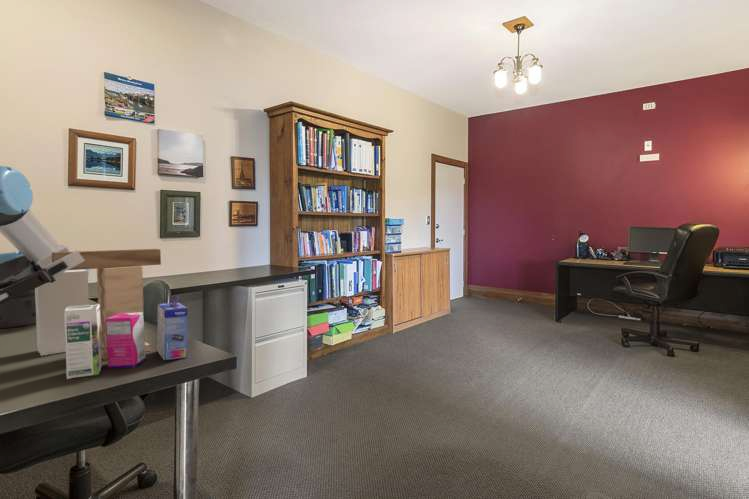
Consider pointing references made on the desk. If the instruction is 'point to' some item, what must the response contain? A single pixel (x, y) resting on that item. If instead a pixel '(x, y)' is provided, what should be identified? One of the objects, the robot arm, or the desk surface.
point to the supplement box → (125, 340)
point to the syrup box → (82, 341)
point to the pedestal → (58, 308)
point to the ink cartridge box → (172, 330)
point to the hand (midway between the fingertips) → (75, 253)
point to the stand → (119, 296)
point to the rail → (114, 258)
